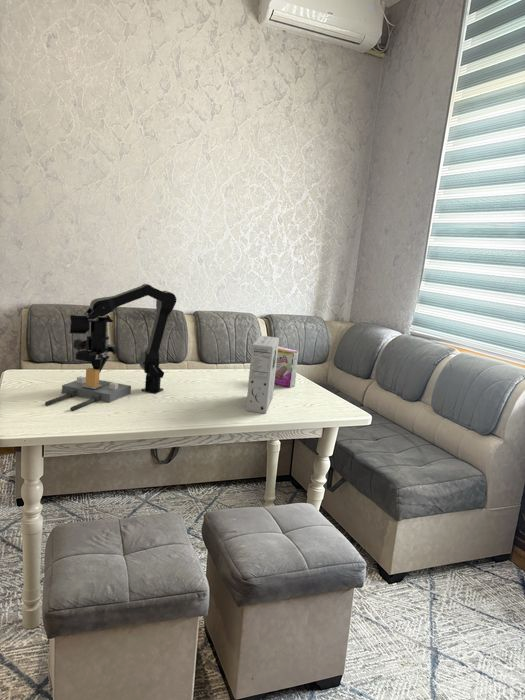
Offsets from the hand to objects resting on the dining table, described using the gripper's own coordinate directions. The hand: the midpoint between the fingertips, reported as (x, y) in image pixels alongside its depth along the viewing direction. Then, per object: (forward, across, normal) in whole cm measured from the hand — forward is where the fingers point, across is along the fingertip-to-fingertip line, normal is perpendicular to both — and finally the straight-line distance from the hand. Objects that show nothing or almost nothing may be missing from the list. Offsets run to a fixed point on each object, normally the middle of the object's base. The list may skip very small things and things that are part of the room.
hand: (97, 375), depth 188 cm
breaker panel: (+7, 0, 0) cm, 7 cm away
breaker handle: (+4, +3, 0) cm, 5 cm away
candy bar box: (+7, -58, +57) cm, 81 cm away
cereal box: (+7, -24, +57) cm, 62 cm away
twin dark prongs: (+7, +14, 0) cm, 15 cm away
